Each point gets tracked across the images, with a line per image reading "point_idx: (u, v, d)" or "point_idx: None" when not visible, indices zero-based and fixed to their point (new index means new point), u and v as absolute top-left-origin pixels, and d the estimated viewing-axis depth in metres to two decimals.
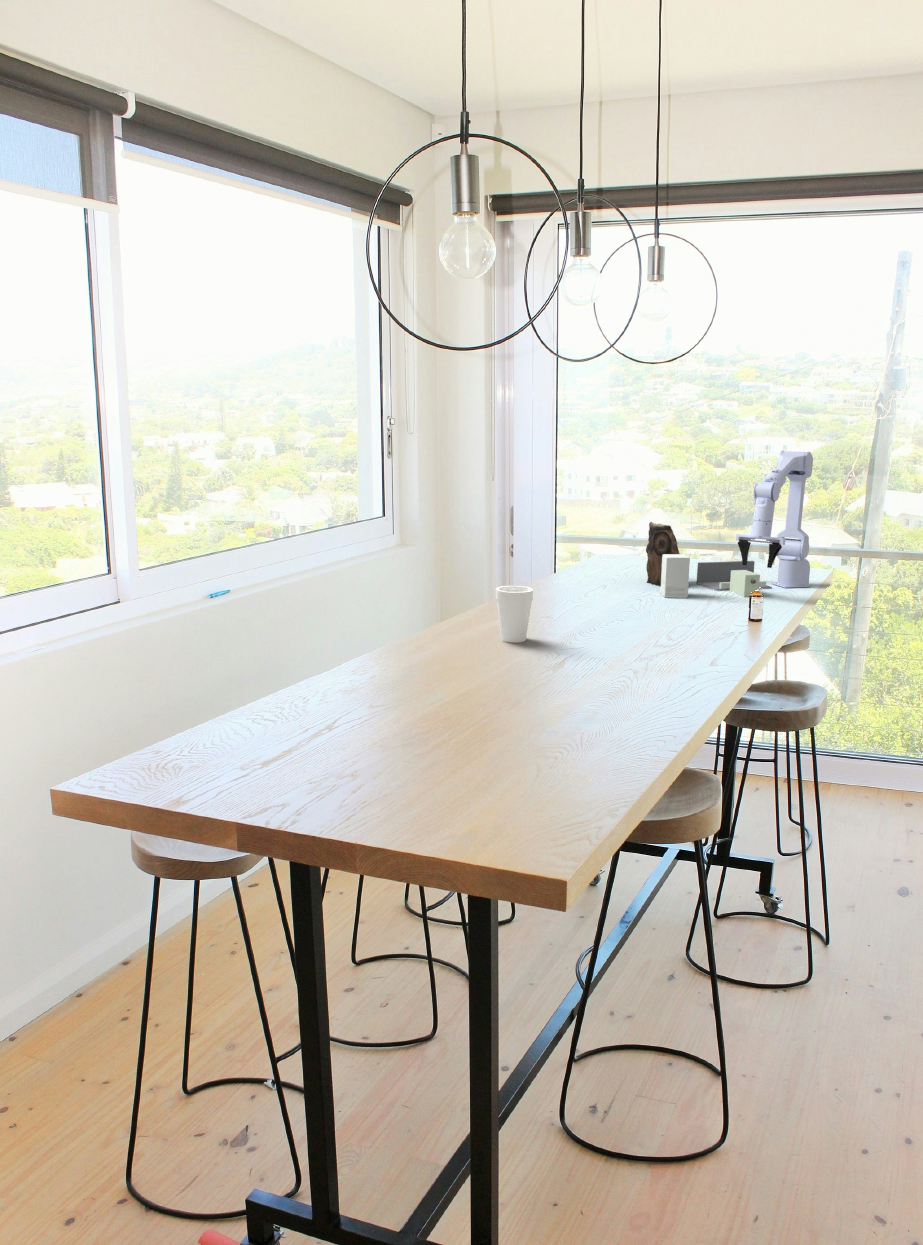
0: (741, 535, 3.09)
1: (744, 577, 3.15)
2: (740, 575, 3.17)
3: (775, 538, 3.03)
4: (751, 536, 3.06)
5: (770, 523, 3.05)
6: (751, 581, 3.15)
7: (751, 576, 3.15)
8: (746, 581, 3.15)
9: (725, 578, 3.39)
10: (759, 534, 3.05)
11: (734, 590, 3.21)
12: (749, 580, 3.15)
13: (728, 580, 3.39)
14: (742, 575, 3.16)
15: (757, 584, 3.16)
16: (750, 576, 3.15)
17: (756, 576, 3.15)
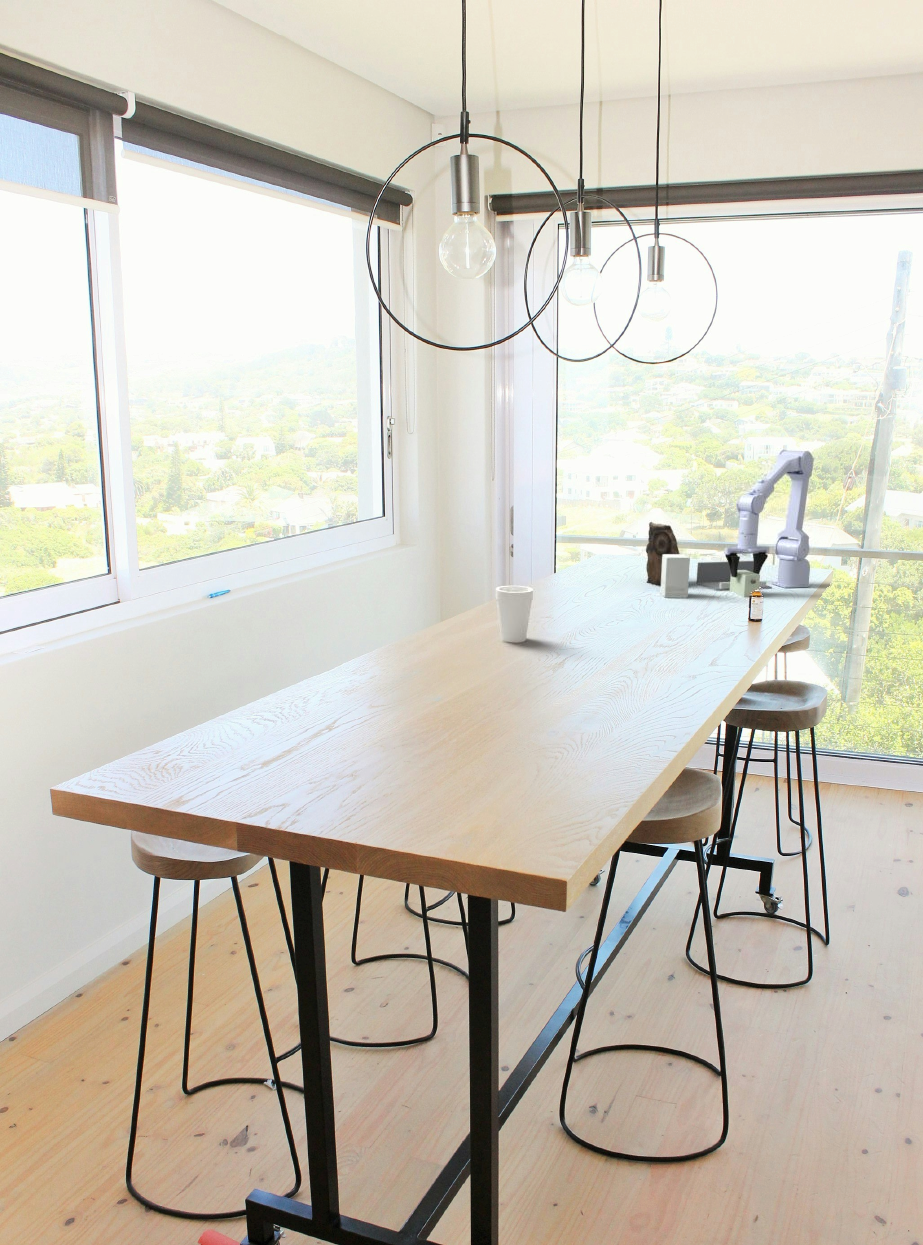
0: (733, 549, 3.15)
1: (744, 577, 3.15)
2: (740, 575, 3.17)
3: (763, 548, 3.17)
4: (745, 550, 3.15)
5: None
6: (751, 581, 3.15)
7: (751, 576, 3.15)
8: (746, 581, 3.15)
9: (725, 578, 3.39)
10: (753, 547, 3.15)
11: (734, 590, 3.21)
12: (749, 580, 3.15)
13: (728, 580, 3.39)
14: (742, 575, 3.16)
15: (757, 584, 3.16)
16: (750, 576, 3.15)
17: (756, 576, 3.15)
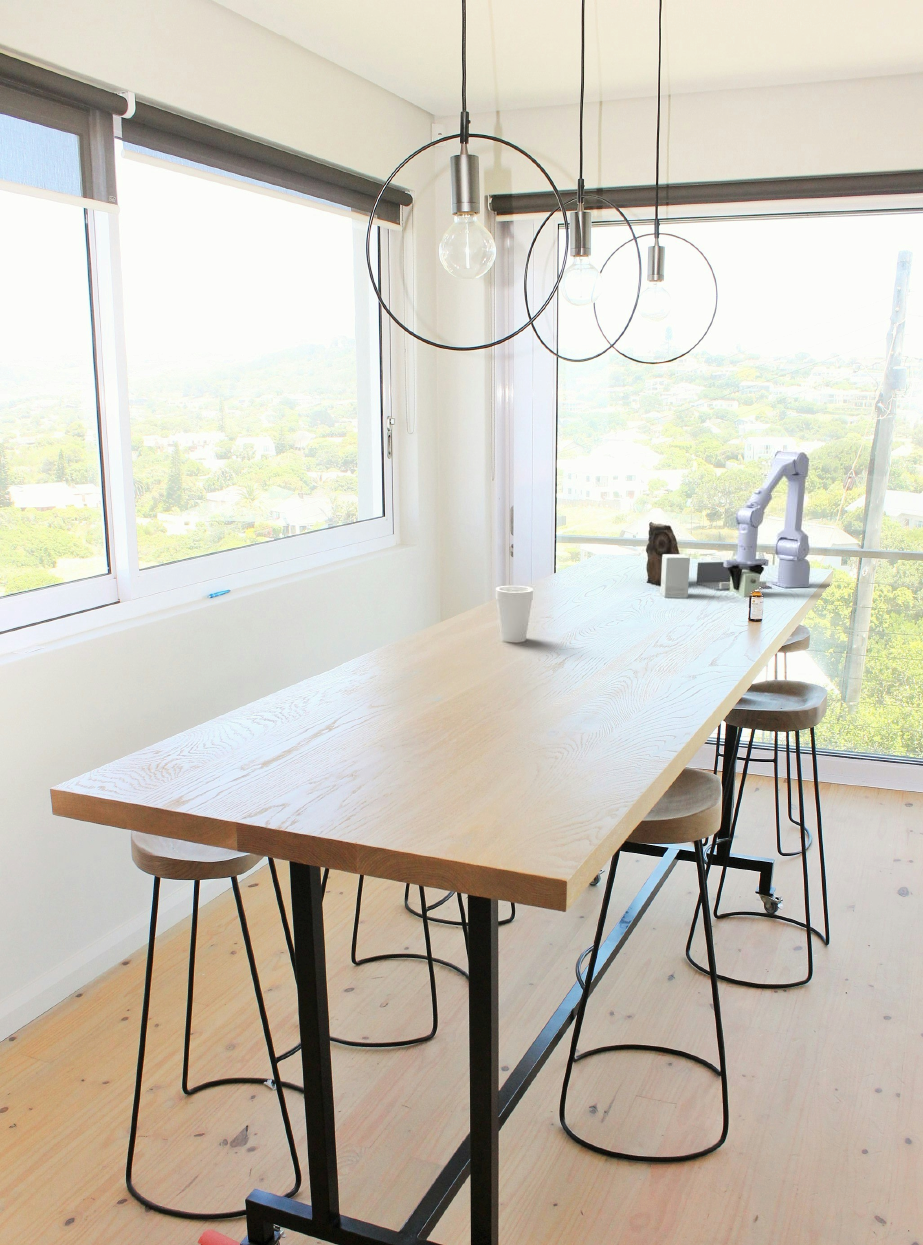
0: (732, 562, 3.16)
1: (744, 577, 3.15)
2: None
3: (762, 561, 3.18)
4: (744, 562, 3.15)
5: None
6: (751, 581, 3.15)
7: (751, 576, 3.15)
8: (746, 581, 3.15)
9: (725, 578, 3.39)
10: (752, 560, 3.16)
11: (734, 589, 3.21)
12: (749, 580, 3.15)
13: (728, 580, 3.39)
14: (742, 575, 3.16)
15: (757, 584, 3.16)
16: (750, 576, 3.15)
17: (756, 576, 3.15)
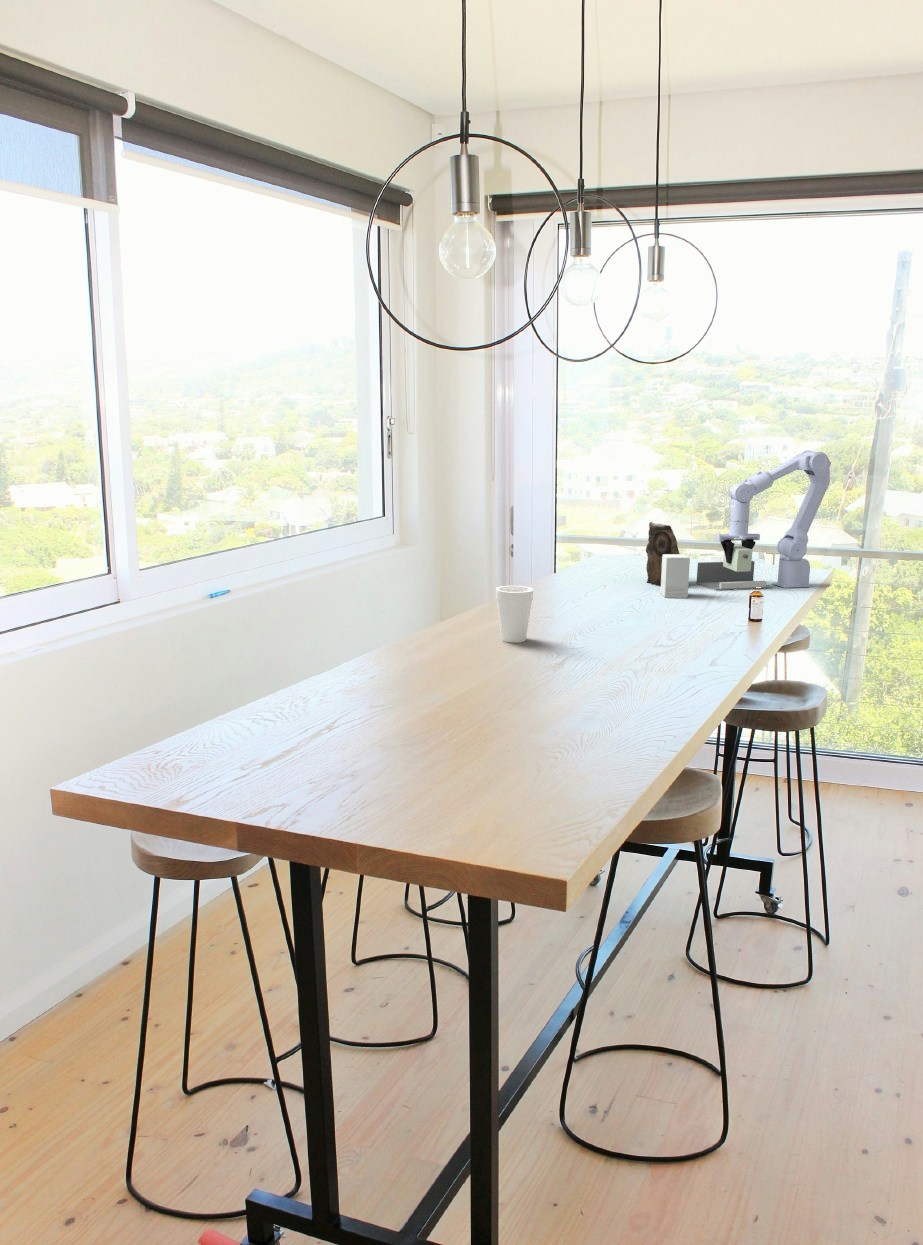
0: (725, 536, 3.27)
1: (737, 552, 3.26)
2: (733, 550, 3.28)
3: (754, 535, 3.30)
4: (736, 536, 3.27)
5: None
6: (744, 556, 3.26)
7: (744, 551, 3.26)
8: (739, 556, 3.26)
9: (725, 578, 3.39)
10: (744, 534, 3.27)
11: (727, 564, 3.33)
12: (742, 555, 3.26)
13: (728, 580, 3.39)
14: (735, 550, 3.27)
15: (749, 559, 3.27)
16: (743, 551, 3.26)
17: (749, 551, 3.26)
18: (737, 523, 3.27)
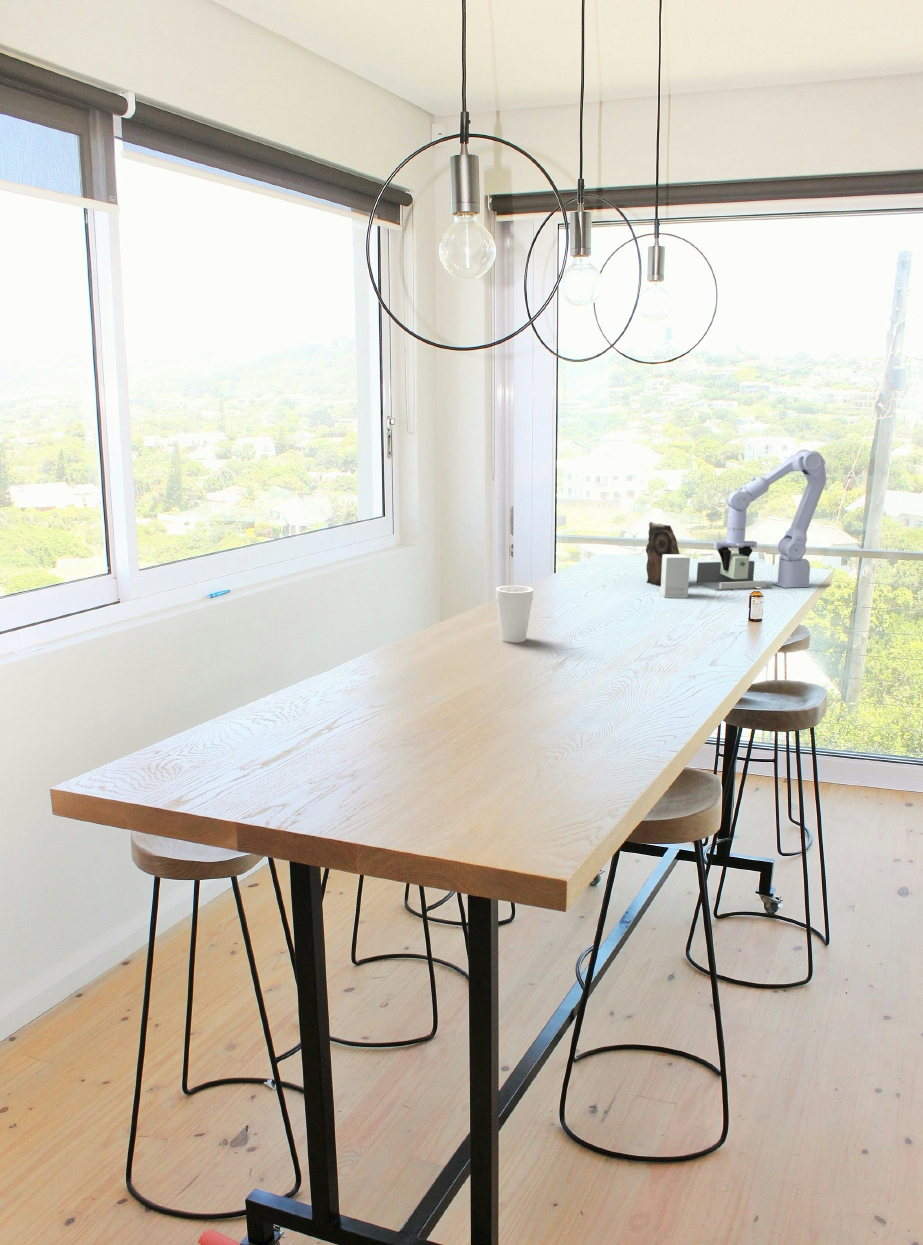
0: (721, 544, 3.30)
1: (734, 560, 3.28)
2: (730, 557, 3.31)
3: (751, 543, 3.32)
4: (733, 544, 3.29)
5: None
6: (740, 563, 3.28)
7: (741, 559, 3.28)
8: (736, 563, 3.28)
9: (725, 578, 3.39)
10: (741, 542, 3.29)
11: (724, 571, 3.35)
12: (739, 562, 3.28)
13: (728, 580, 3.39)
14: (732, 557, 3.29)
15: (746, 566, 3.29)
16: (740, 559, 3.28)
17: (745, 559, 3.29)
18: (734, 531, 3.29)
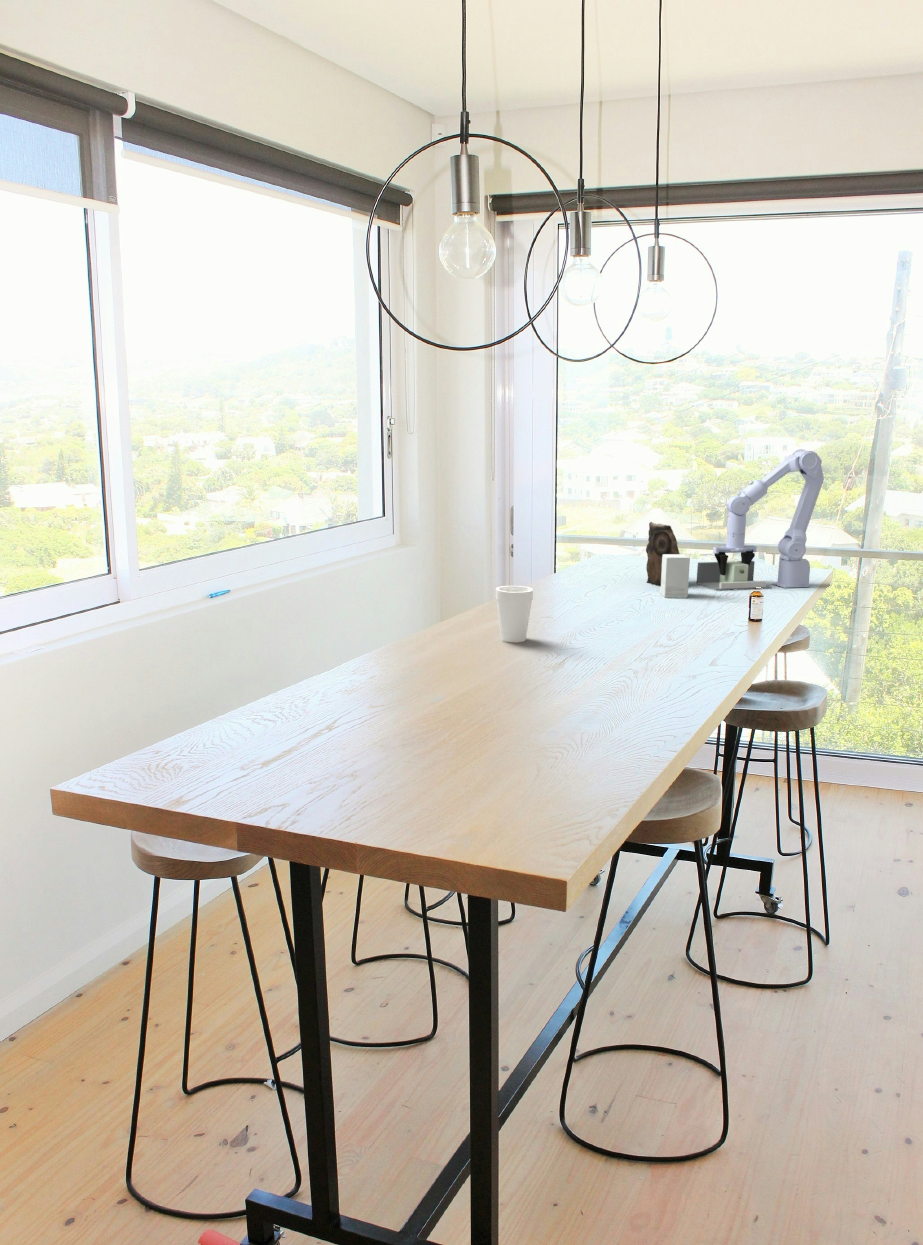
0: (721, 548, 3.30)
1: (733, 567, 3.29)
2: (729, 565, 3.31)
3: (750, 548, 3.32)
4: (733, 549, 3.30)
5: None
6: (740, 571, 3.29)
7: (740, 566, 3.29)
8: (735, 571, 3.29)
9: None
10: (740, 546, 3.30)
11: (723, 579, 3.36)
12: (738, 570, 3.29)
13: None
14: (731, 565, 3.30)
15: (746, 574, 3.30)
16: (739, 566, 3.29)
17: (745, 566, 3.29)
18: (734, 535, 3.29)
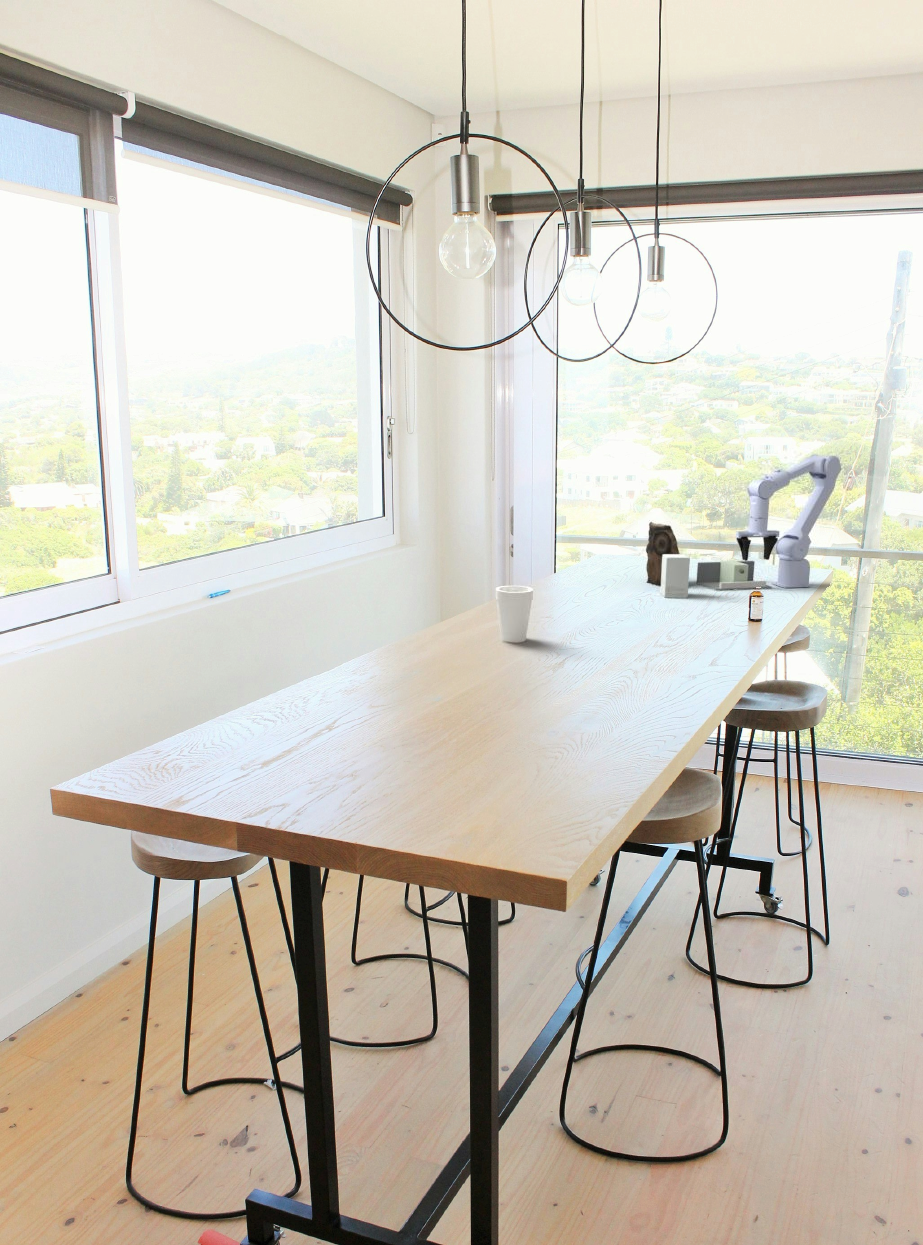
0: (744, 533, 3.23)
1: (733, 567, 3.29)
2: (729, 565, 3.31)
3: (773, 532, 3.26)
4: (756, 533, 3.23)
5: None
6: (740, 571, 3.29)
7: (740, 566, 3.29)
8: (735, 571, 3.29)
9: None
10: (763, 531, 3.23)
11: (723, 579, 3.36)
12: (738, 570, 3.29)
13: None
14: (731, 565, 3.30)
15: (746, 574, 3.30)
16: (739, 566, 3.29)
17: (745, 566, 3.29)
18: (756, 520, 3.23)
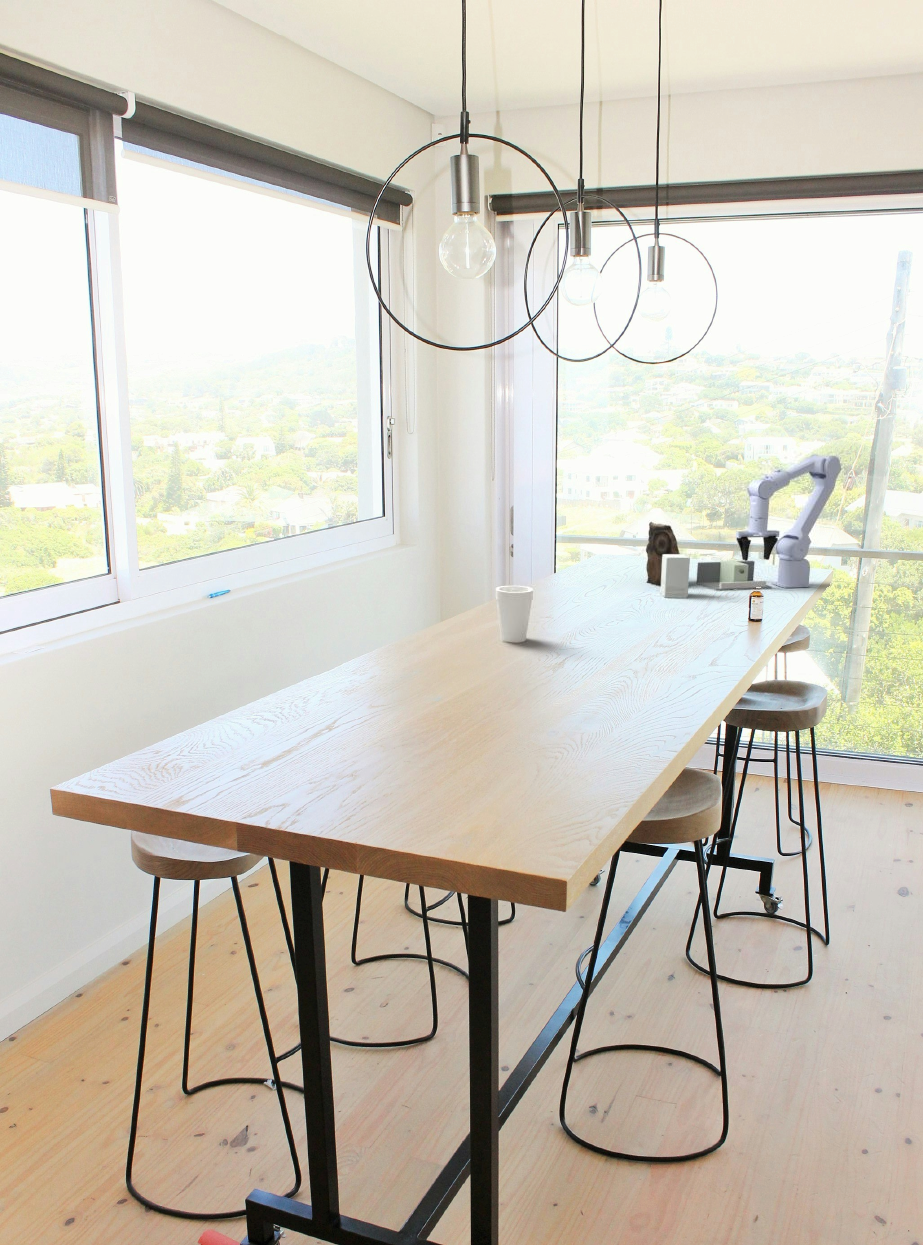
0: (744, 533, 3.23)
1: (733, 567, 3.29)
2: (729, 565, 3.31)
3: (773, 532, 3.26)
4: (756, 533, 3.23)
5: None
6: (740, 571, 3.29)
7: (740, 566, 3.29)
8: (735, 571, 3.29)
9: None
10: (763, 531, 3.23)
11: (723, 579, 3.36)
12: (738, 570, 3.29)
13: None
14: (731, 565, 3.30)
15: (746, 574, 3.30)
16: (739, 566, 3.29)
17: (745, 566, 3.29)
18: (756, 520, 3.23)
